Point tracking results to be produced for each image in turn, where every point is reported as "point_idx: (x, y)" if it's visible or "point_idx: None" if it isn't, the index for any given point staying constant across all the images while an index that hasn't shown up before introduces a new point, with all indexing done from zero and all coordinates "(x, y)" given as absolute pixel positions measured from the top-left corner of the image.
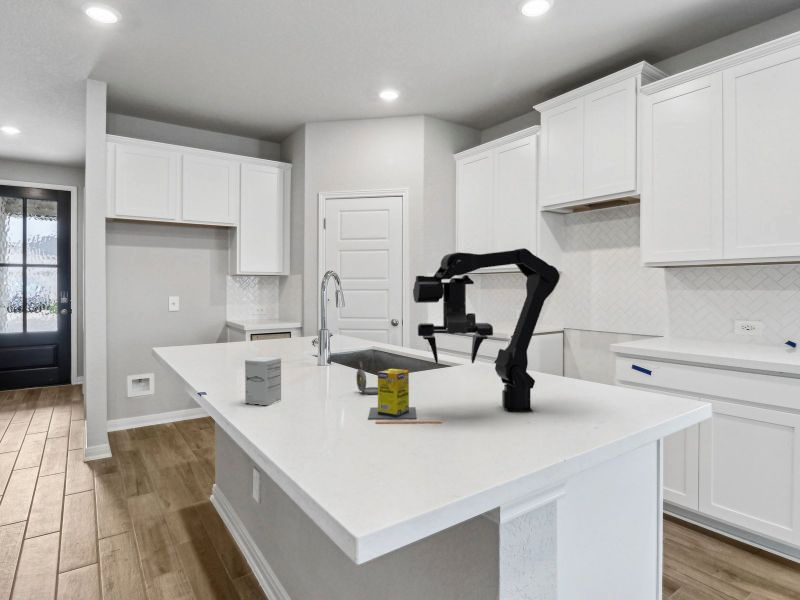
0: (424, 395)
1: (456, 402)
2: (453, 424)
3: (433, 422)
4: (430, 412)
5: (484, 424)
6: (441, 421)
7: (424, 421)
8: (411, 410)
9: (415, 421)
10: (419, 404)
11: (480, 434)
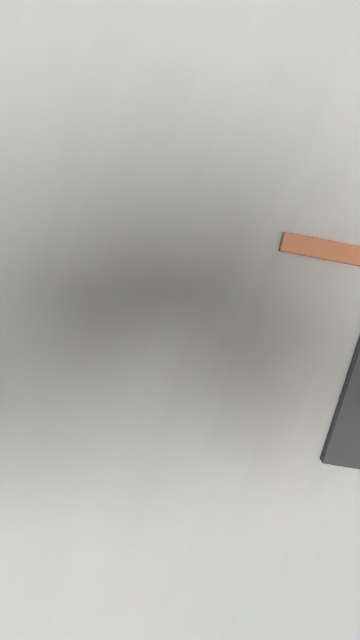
0: (223, 624)
1: (128, 513)
2: (241, 204)
3: (321, 239)
4: (278, 397)
5: (107, 174)
6: (286, 238)
7: (357, 255)
8: (355, 420)
9: None
10: (283, 513)
11: (172, 18)
